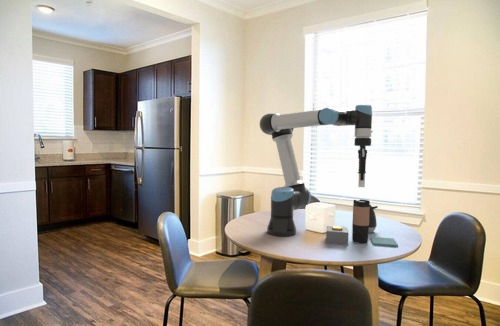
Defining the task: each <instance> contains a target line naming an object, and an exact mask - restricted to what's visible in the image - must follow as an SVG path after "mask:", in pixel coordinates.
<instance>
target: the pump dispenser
mask: <svg viewBox="0 0 500 326" xmlns="http://www.w3.org/2000/svg"><path fill="white" fill-rule="evenodd" d="M375 209H378V205H374V206H372V205H371V204H370V209H369V231H368V234H370V233H373V232H374V231H375V229H376V227H377V223H378V222H377V216H376V212H375Z"/></svg>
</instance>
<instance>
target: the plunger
mask: <svg viewBox="0 0 500 326" xmlns="http://www.w3.org/2000/svg"><path fill="white" fill-rule="evenodd" d="M332 226H333V230H339V231H342V227H343V226H339V225H338V226H337V225H332Z"/></svg>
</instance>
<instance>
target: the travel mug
mask: <svg viewBox="0 0 500 326" xmlns="http://www.w3.org/2000/svg"><path fill="white" fill-rule="evenodd" d="M352 204H353V205H352V221H351V222H352V225H351V227H352V230H351V231H352V232H351V233H352V236H351V237H352V238H351V239H352V242H353V243H355V244H364V245H365V244H368V242H369V233H368V231H369V209H370V205H371V204H370V200H368V199H359V200H356V199H353V203H352Z"/></svg>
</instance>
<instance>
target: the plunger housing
mask: <svg viewBox="0 0 500 326" xmlns="http://www.w3.org/2000/svg"><path fill="white" fill-rule="evenodd" d="M333 226H334V225H326V235H325V238H326V240H325V244H330V245H341V246H348V245H349V227H347V226H341V227H342V231H339V230H333Z"/></svg>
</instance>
